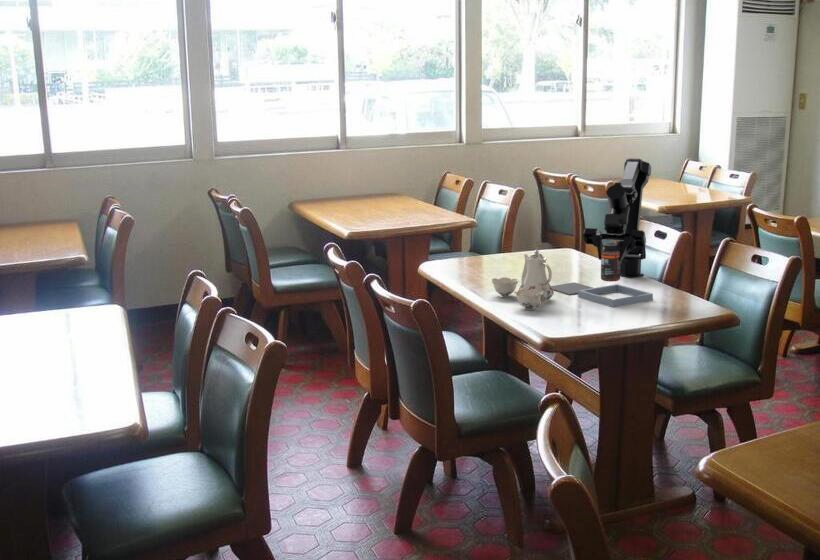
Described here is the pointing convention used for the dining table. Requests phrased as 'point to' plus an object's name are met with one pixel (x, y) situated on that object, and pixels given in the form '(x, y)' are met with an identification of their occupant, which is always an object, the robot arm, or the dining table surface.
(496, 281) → the chinaware
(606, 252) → the supplement bottle
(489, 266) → the dining table surface
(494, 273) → the dining table surface
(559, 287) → the mat
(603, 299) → the bin
